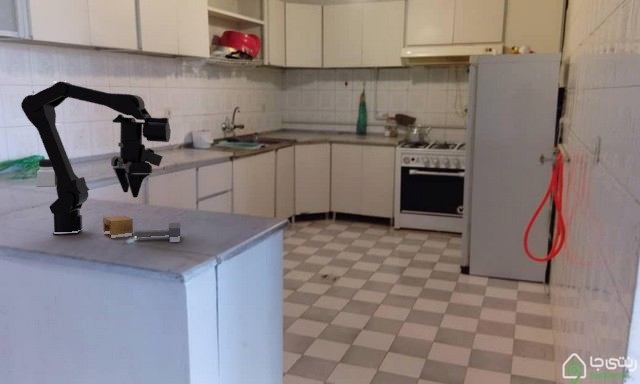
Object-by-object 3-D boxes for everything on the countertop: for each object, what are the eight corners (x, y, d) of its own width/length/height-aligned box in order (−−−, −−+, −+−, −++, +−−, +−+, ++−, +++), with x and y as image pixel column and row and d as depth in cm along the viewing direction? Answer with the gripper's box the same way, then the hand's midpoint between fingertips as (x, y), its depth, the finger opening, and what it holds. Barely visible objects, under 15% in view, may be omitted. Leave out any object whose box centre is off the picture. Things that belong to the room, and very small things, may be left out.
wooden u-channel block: (111, 239, 140) (110, 221, 139) (103, 234, 145) (102, 217, 144) (132, 236, 144) (132, 219, 143) (124, 232, 149) (124, 215, 148)
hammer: (133, 243, 136) (133, 229, 135) (135, 237, 142) (135, 223, 142) (180, 242, 139) (180, 228, 138) (180, 236, 146) (180, 222, 145)
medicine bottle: (55, 186, 231) (54, 160, 229) (37, 186, 228) (36, 160, 226) (57, 184, 237) (56, 158, 235) (39, 184, 235) (38, 158, 233)
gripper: (171, 143, 140) (169, 199, 143) (149, 138, 155) (148, 189, 157) (129, 142, 134) (128, 200, 136) (110, 137, 149) (110, 190, 151)
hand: (130, 194), depth 145 cm, fingers open, 9 cm apart
